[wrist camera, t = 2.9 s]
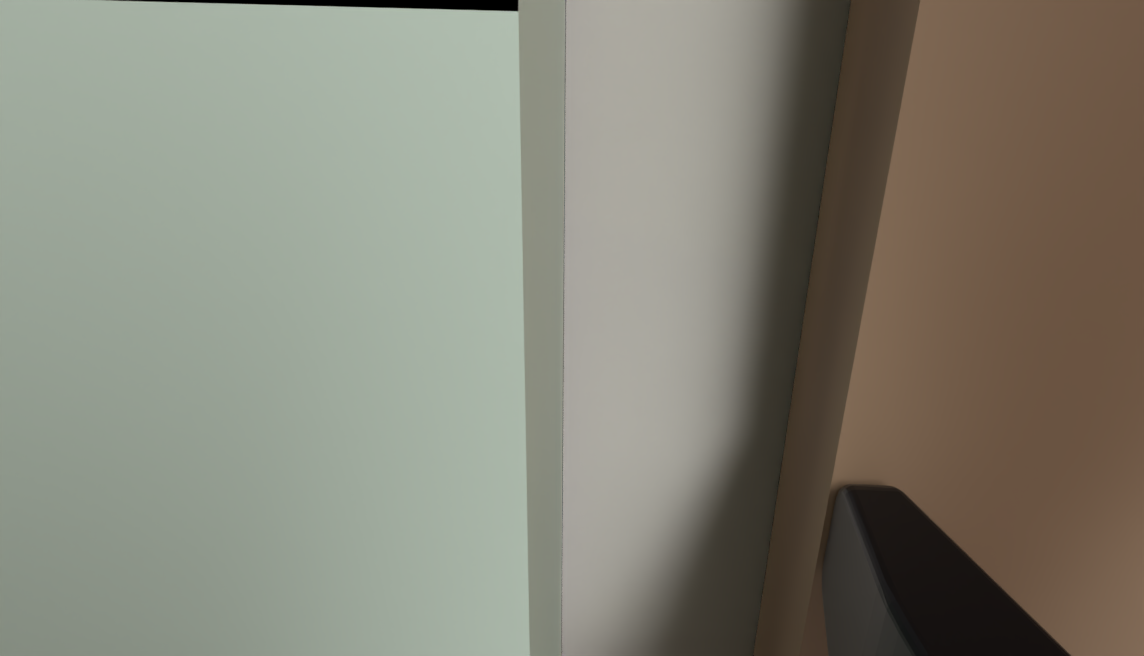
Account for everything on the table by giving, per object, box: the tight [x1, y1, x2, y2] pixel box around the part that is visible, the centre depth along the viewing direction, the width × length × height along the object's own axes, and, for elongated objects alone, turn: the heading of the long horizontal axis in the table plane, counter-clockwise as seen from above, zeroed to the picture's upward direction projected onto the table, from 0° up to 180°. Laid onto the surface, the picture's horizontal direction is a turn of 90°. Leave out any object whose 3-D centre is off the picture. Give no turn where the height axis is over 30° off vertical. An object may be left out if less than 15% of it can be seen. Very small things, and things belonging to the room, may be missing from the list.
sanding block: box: [0, 0, 566, 656], centre depth 7 cm, size 4×12×6 cm, turn 179°
